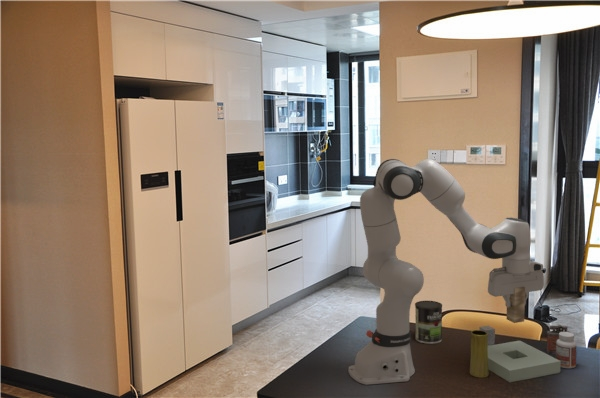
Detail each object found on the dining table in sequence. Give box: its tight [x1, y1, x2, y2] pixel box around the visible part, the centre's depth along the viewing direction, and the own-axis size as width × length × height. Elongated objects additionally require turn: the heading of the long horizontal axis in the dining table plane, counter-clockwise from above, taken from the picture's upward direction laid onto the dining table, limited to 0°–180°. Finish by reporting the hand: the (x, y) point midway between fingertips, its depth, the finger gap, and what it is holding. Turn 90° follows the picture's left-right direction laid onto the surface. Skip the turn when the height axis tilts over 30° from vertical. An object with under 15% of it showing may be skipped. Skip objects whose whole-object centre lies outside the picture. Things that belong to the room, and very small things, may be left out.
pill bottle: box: [555, 331, 577, 369], centre depth 191 cm, size 6×6×11 cm
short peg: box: [478, 325, 496, 346], centre depth 214 cm, size 4×4×6 cm
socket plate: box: [488, 340, 561, 383], centre depth 193 cm, size 20×20×4 cm
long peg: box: [506, 287, 526, 324], centre depth 190 cm, size 4×4×12 cm
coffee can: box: [414, 300, 443, 345], centre depth 219 cm, size 10×10×14 cm
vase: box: [469, 329, 490, 379], centre depth 187 cm, size 6×6×14 cm
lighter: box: [546, 324, 572, 355], centre depth 203 cm, size 8×3×10 cm, turn 84°
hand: (515, 305), depth 190 cm, fingers closed on long peg, 4 cm apart
